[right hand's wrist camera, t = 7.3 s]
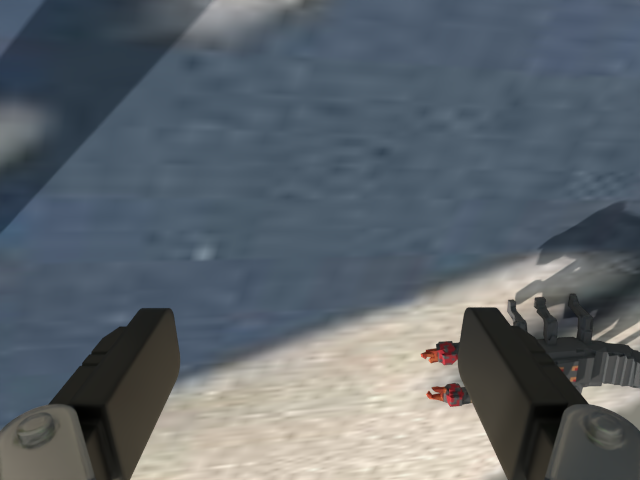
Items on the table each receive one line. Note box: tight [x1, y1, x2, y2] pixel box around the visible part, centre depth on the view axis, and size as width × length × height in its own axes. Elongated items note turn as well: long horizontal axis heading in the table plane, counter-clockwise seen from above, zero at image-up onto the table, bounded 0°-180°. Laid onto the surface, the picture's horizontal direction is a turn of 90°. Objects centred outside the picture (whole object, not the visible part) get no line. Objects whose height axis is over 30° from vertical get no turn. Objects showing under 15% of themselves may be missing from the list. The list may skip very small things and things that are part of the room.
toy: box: [421, 294, 640, 407], centre depth 40 cm, size 13×27×18 cm, turn 96°
